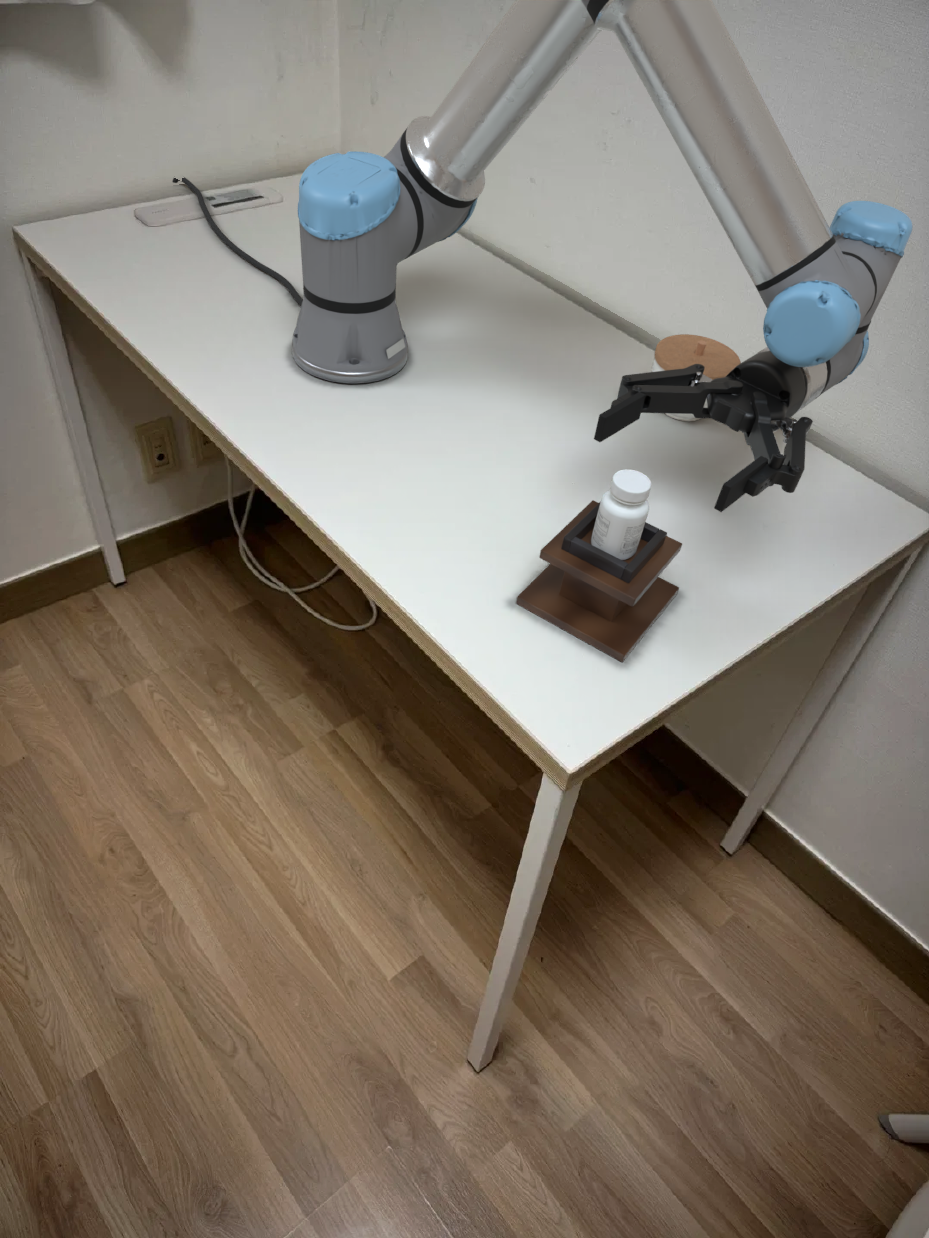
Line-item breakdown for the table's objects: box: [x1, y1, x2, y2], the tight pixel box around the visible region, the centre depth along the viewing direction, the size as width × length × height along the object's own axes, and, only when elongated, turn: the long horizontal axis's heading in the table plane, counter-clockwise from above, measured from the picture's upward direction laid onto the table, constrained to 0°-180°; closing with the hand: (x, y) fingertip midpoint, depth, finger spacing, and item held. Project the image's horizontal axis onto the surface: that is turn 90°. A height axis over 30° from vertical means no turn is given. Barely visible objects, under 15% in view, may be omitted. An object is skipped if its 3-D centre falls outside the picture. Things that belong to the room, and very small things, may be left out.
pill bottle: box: [591, 468, 652, 560], centre depth 76 cm, size 4×4×8 cm
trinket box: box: [650, 333, 742, 422], centre depth 107 cm, size 11×11×9 cm
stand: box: [515, 500, 683, 663], centre depth 81 cm, size 12×12×8 cm
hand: (658, 462), depth 76 cm, fingers open, 13 cm apart
